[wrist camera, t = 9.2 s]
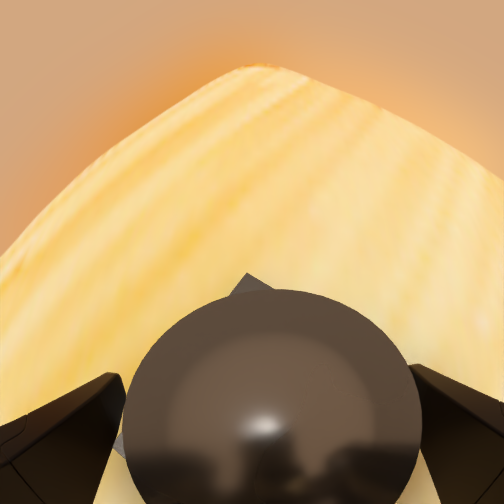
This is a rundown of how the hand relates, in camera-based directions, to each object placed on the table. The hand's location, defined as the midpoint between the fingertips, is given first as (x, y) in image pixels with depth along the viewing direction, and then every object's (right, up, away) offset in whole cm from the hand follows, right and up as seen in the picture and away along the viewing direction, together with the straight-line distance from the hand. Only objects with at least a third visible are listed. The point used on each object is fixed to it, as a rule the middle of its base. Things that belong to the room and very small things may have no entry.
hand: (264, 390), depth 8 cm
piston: (0, -5, +6) cm, 8 cm away
